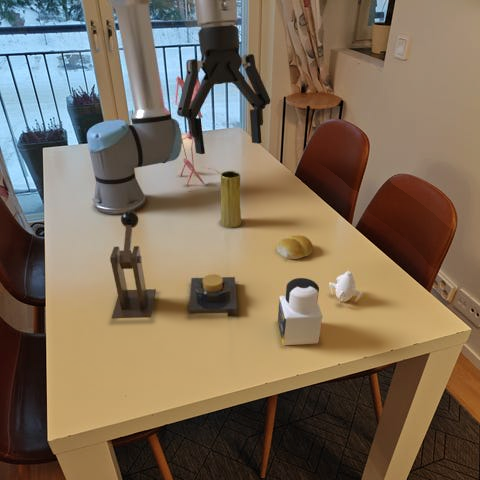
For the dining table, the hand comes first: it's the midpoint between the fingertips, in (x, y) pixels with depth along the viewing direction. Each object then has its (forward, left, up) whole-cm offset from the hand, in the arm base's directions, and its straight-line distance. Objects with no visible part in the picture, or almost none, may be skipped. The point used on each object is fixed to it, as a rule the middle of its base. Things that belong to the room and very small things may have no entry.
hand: (229, 148), depth 91 cm
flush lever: (+12, -21, -15) cm, 29 cm away
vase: (-21, +1, -28) cm, 35 cm away
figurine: (-55, -8, -28) cm, 63 cm away
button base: (+16, -4, -28) cm, 32 cm away
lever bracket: (+18, -21, -28) cm, 39 cm away
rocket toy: (+17, +25, -28) cm, 41 cm away
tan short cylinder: (+16, -4, -24) cm, 29 cm away
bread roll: (-4, +17, -28) cm, 33 cm away
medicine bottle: (+28, +13, -28) cm, 41 cm away
